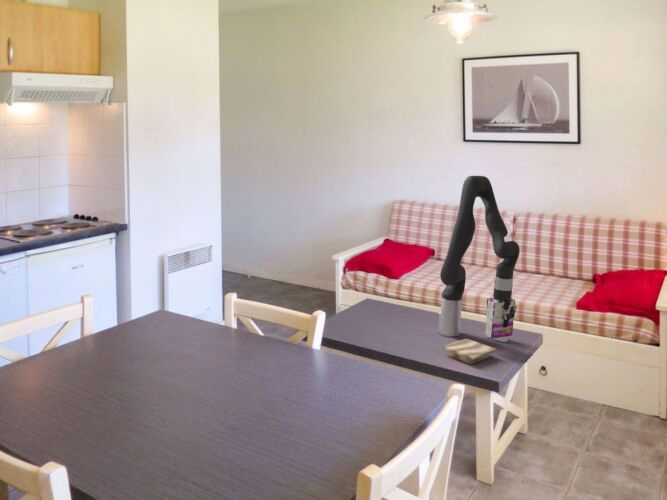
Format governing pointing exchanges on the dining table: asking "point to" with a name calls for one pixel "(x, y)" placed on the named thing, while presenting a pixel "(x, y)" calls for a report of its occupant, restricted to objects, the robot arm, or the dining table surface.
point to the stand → (469, 350)
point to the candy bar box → (497, 319)
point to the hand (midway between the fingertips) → (499, 324)
